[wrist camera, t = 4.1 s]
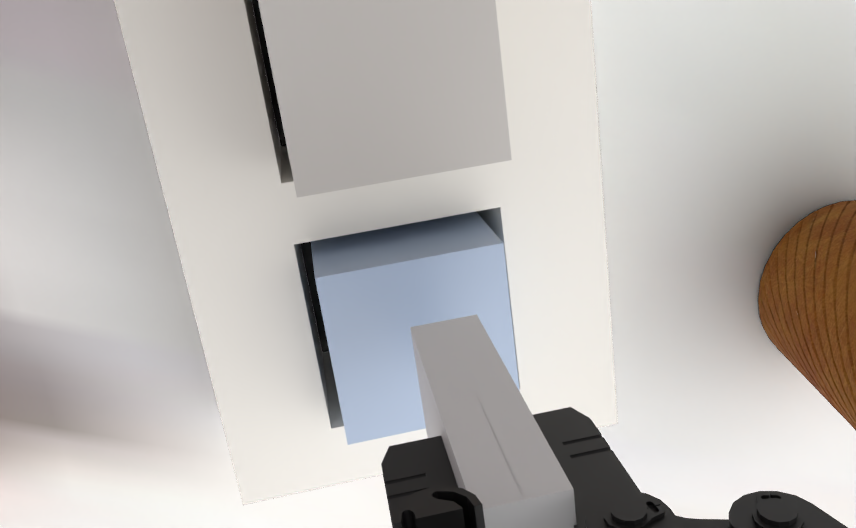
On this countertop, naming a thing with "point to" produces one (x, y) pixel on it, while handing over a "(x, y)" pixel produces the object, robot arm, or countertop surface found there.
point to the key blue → (404, 311)
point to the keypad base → (366, 229)
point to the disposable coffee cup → (816, 302)
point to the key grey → (386, 88)
